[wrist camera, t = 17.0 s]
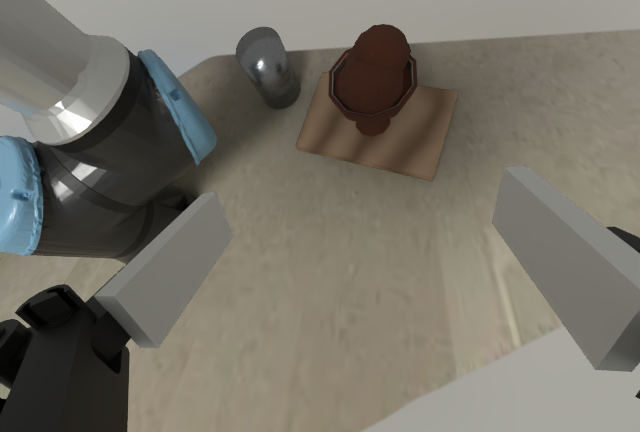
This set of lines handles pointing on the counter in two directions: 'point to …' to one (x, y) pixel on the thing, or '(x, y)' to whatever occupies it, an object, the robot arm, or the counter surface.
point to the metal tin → (268, 67)
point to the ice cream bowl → (374, 79)
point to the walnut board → (389, 147)
